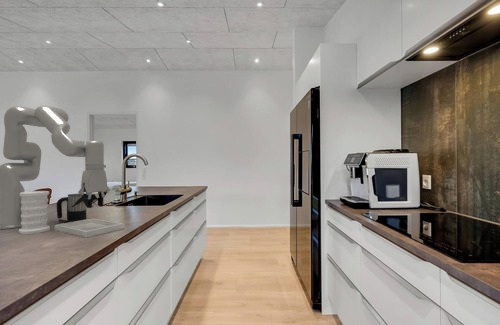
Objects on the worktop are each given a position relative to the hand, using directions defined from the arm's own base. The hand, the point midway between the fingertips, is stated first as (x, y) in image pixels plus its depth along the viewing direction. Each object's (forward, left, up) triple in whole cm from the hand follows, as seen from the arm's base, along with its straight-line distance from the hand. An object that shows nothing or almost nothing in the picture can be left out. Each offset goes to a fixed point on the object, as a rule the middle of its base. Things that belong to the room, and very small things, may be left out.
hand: (94, 206), depth 129 cm
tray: (-4, 0, -11) cm, 12 cm away
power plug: (-6, -2, -1) cm, 6 cm away
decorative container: (-24, -14, -11) cm, 30 cm away
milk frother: (-26, +4, -11) cm, 29 cm away
